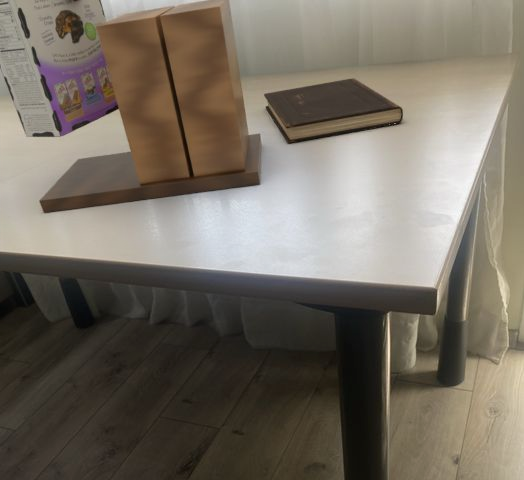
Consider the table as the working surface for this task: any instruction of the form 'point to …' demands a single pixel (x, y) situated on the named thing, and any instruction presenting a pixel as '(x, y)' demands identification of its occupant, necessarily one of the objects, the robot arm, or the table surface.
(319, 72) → the table surface
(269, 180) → the table surface
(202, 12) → the split wooden block stand
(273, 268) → the table surface
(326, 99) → the hardcover book
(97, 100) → the candy box
